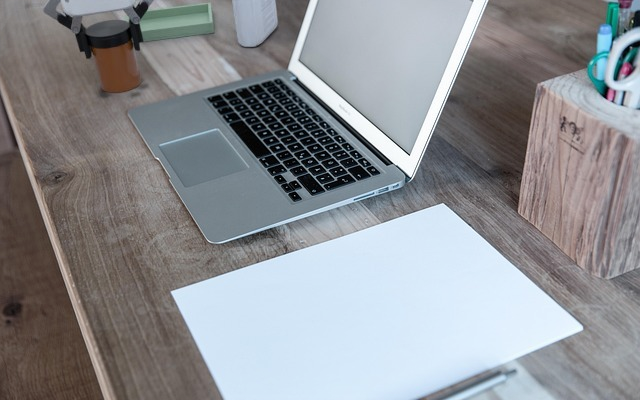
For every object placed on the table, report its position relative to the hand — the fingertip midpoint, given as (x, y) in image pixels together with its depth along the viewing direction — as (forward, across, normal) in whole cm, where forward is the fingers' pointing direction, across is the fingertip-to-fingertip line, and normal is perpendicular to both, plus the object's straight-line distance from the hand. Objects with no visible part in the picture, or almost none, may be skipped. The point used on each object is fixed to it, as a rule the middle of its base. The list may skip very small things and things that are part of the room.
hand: (113, 50), depth 105 cm
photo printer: (+6, +23, +10) cm, 26 cm away
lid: (-3, 0, 0) cm, 3 cm away
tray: (+5, +9, +20) cm, 23 cm away
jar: (+5, 0, 0) cm, 5 cm away
